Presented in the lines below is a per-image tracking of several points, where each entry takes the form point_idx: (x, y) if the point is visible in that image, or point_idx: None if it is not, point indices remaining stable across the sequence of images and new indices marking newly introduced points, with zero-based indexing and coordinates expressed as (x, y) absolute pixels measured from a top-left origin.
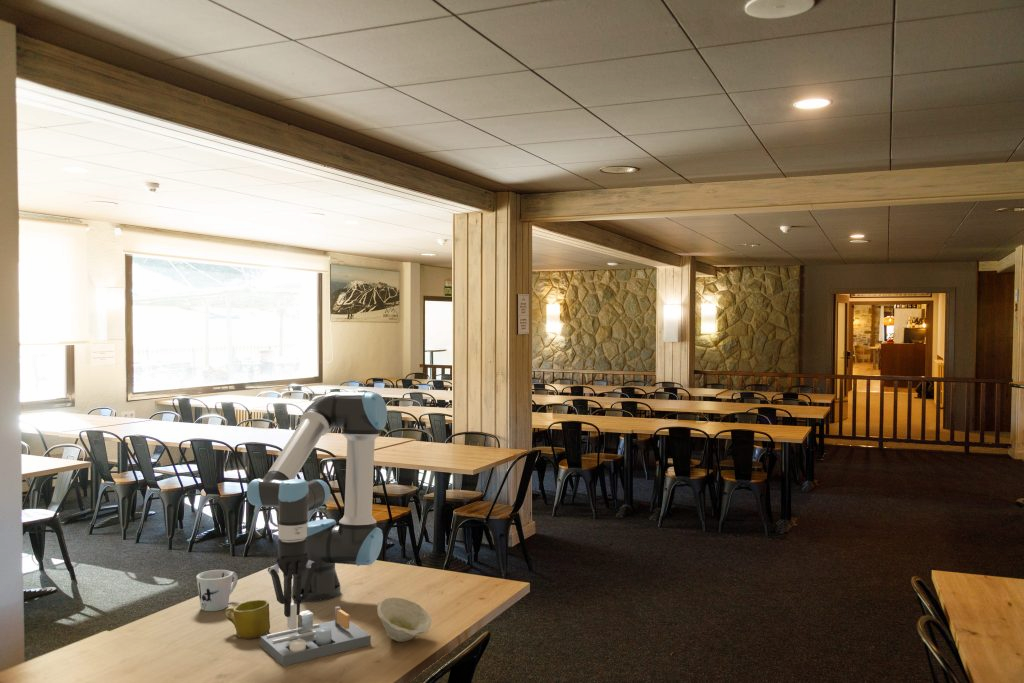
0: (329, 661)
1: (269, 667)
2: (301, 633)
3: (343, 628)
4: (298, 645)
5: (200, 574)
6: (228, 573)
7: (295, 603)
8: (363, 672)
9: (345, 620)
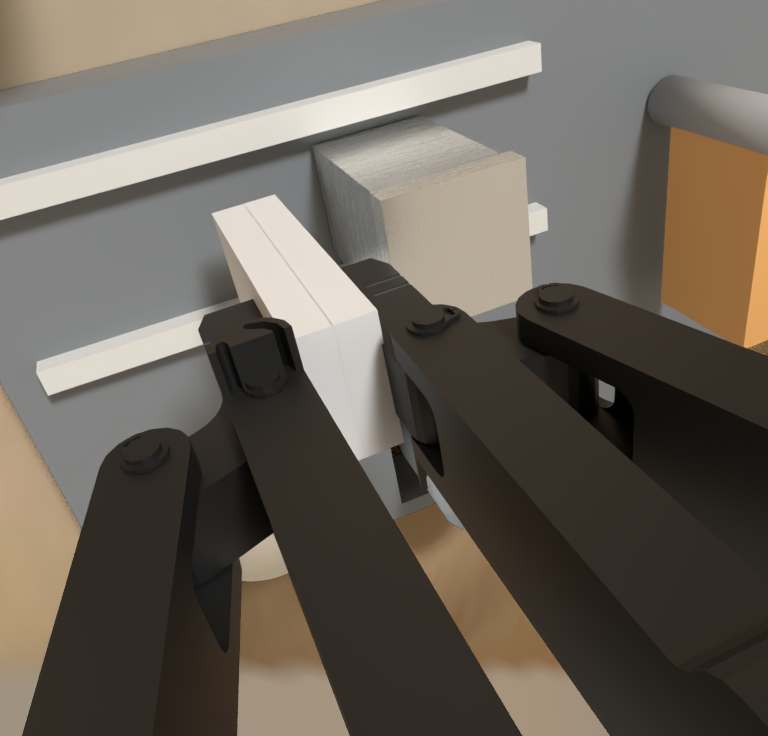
0: (416, 535)
1: (31, 583)
2: (336, 244)
3: (666, 198)
4: (266, 579)
5: None
6: None
7: (393, 410)
8: (515, 653)
9: (709, 321)
